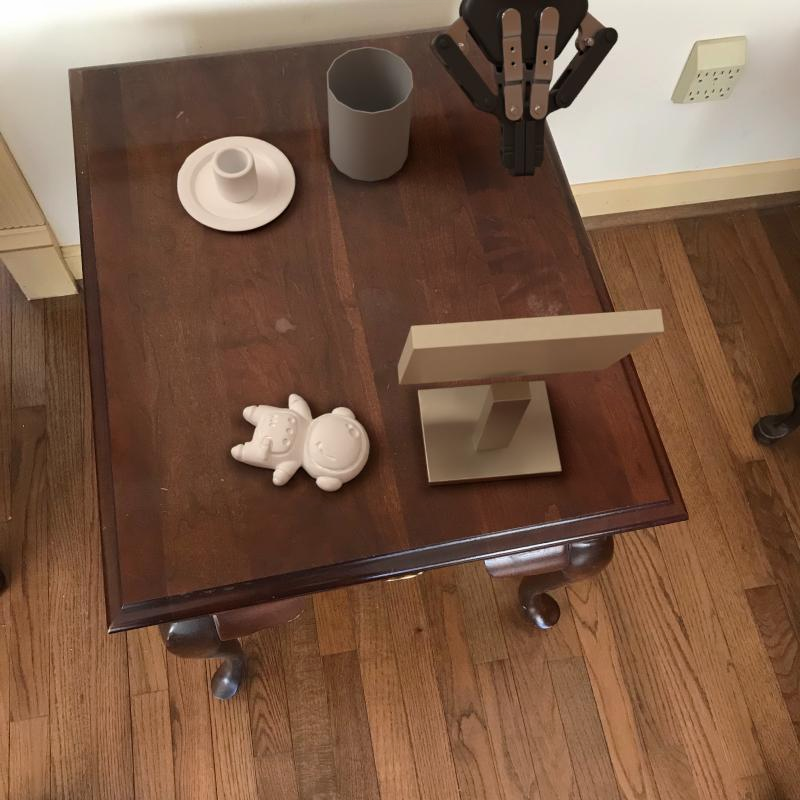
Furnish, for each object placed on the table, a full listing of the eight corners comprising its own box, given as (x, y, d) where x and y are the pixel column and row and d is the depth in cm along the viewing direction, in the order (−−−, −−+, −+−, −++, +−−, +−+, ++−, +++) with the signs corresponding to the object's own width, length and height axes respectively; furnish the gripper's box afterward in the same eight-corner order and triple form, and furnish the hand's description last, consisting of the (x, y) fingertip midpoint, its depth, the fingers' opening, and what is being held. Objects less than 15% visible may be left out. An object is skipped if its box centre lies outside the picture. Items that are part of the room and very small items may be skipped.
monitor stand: (416, 394, 78) (427, 333, 67) (542, 385, 79) (572, 323, 68) (428, 486, 74) (440, 437, 63) (559, 475, 76) (594, 425, 64)
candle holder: (159, 168, 87) (150, 139, 83) (262, 125, 90) (258, 96, 86) (209, 253, 83) (202, 227, 79) (316, 205, 86) (314, 178, 82)
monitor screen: (397, 363, 68) (410, 323, 55) (601, 349, 69) (661, 306, 56) (399, 385, 67) (413, 349, 54) (604, 369, 69) (664, 331, 56)
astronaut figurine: (255, 386, 78) (252, 372, 75) (379, 420, 77) (380, 407, 74) (223, 472, 74) (217, 460, 71) (352, 508, 73) (352, 498, 71)
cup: (389, 191, 87) (393, 124, 78) (317, 166, 88) (312, 96, 79) (418, 133, 91) (425, 62, 81) (348, 109, 91) (348, 36, 82)
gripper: (429, -116, 49) (437, 187, 55) (648, -122, 50) (630, 176, 56) (413, -92, 56) (422, 174, 62) (606, -98, 57) (594, 165, 63)
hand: (521, 174), depth 59 cm, fingers closed
